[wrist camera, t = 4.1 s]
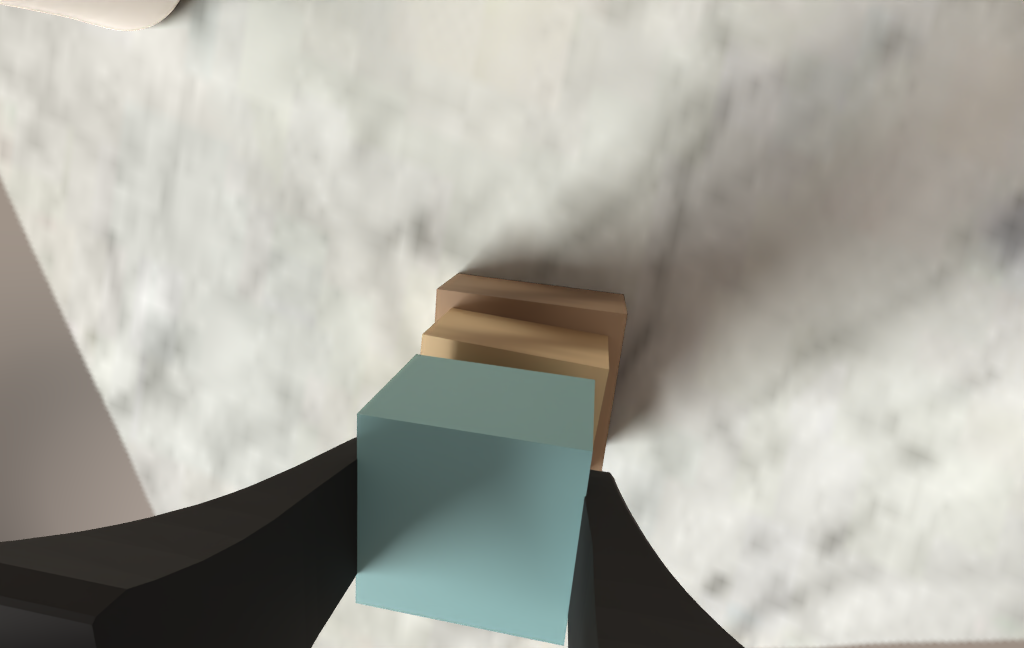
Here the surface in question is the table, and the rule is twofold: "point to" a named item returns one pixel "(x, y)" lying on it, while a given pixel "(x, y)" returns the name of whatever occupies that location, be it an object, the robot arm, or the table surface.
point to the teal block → (473, 494)
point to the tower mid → (520, 347)
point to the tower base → (547, 320)
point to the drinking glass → (103, 11)
